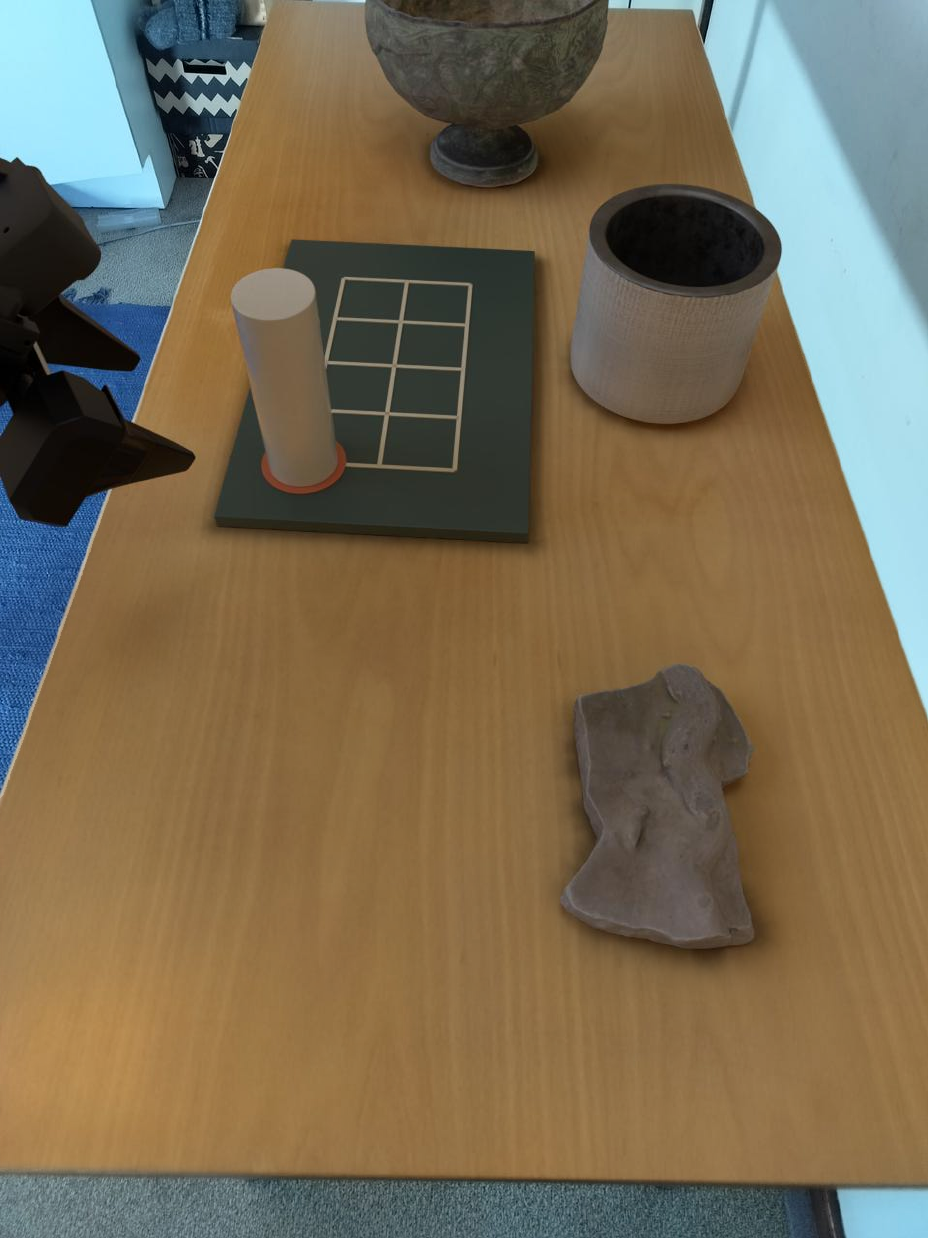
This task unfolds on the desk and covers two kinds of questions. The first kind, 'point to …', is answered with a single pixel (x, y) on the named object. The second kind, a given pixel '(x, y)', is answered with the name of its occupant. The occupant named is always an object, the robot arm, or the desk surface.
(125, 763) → the desk surface
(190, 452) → the robot arm
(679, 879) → the stone
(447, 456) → the board
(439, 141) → the bowl
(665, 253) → the planter
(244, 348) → the white upright cylinder
